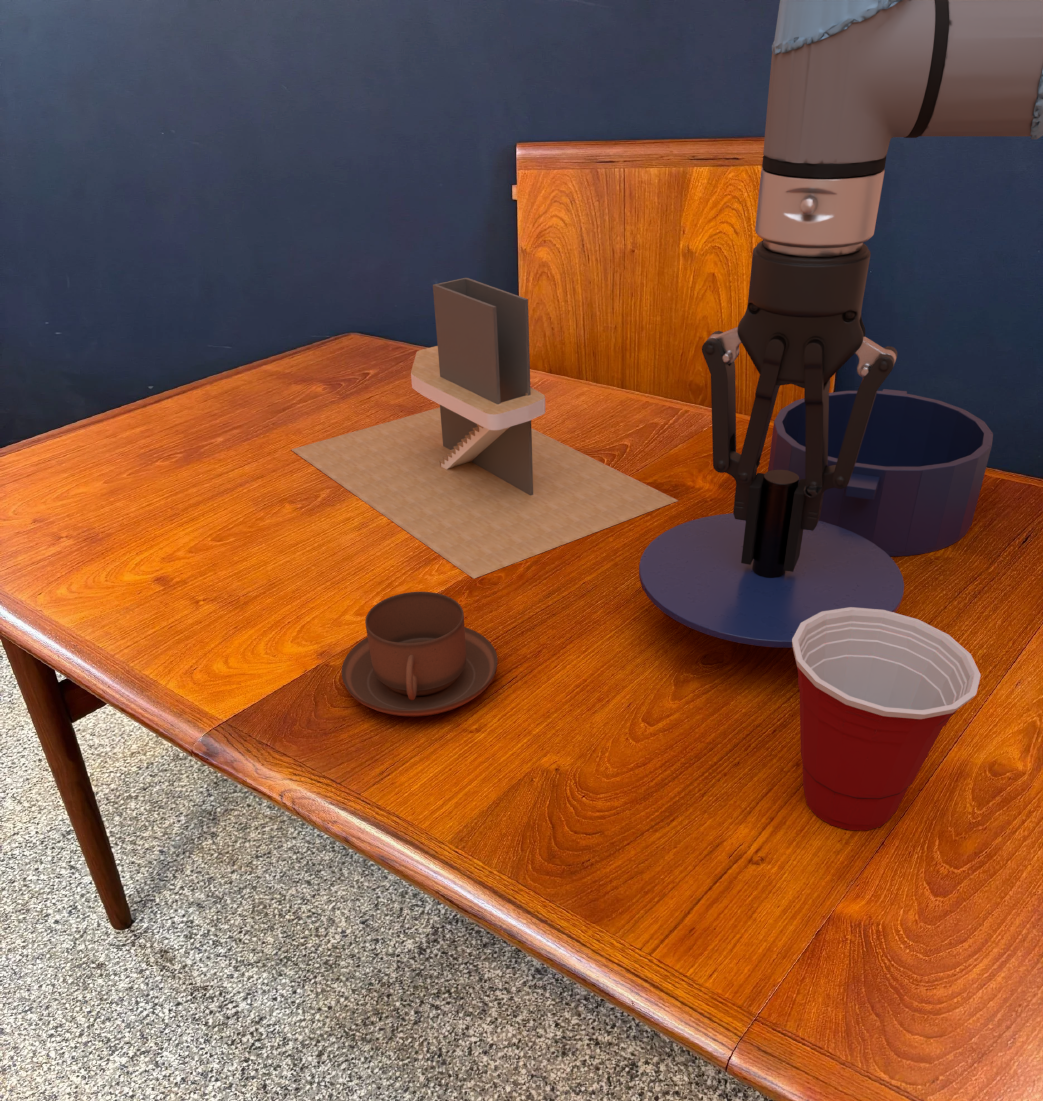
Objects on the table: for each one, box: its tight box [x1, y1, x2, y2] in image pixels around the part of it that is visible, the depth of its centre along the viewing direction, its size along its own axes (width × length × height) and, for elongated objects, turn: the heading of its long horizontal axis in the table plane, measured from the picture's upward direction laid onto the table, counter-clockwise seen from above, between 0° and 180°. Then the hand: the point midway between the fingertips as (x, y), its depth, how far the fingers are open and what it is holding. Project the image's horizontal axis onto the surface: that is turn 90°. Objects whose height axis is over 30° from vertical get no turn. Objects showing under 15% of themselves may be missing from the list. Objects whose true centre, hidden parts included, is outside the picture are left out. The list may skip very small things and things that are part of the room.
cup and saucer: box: [341, 591, 499, 717], centre depth 77 cm, size 12×12×6 cm
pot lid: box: [638, 470, 905, 649], centre depth 78 cm, size 21×21×9 cm
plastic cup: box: [792, 607, 982, 832], centre depth 63 cm, size 11×11×12 cm
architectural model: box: [290, 277, 679, 580], centre depth 104 cm, size 38×25×20 cm, turn 36°
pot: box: [767, 388, 994, 557], centre depth 98 cm, size 20×25×8 cm
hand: (770, 558), depth 80 cm, fingers closed on pot lid, 3 cm apart
